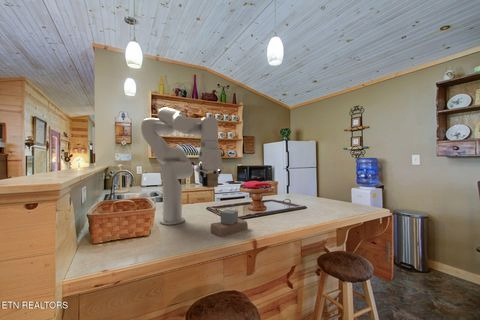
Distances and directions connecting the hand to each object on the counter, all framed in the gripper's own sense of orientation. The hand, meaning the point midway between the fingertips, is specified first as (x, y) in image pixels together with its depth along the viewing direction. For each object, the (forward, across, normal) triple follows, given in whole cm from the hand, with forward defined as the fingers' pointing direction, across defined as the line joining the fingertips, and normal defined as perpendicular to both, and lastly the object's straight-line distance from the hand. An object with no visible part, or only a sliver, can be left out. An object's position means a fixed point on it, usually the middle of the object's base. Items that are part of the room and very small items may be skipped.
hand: (210, 185), depth 102 cm
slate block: (+18, +8, -4) cm, 20 cm away
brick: (+23, +8, -4) cm, 24 cm away
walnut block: (+1, 0, 0) cm, 1 cm away
